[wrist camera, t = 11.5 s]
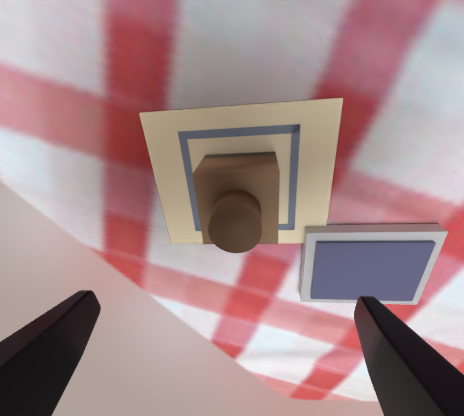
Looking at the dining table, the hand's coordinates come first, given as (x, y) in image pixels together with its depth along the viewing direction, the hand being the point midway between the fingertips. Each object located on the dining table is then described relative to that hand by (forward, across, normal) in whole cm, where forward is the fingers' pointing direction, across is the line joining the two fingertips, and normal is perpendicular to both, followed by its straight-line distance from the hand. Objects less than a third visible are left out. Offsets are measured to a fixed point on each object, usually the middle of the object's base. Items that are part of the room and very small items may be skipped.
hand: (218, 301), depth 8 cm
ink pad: (+10, -9, +7) cm, 15 cm away
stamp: (+10, 0, 0) cm, 10 cm away
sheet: (+10, 0, 0) cm, 10 cm away
